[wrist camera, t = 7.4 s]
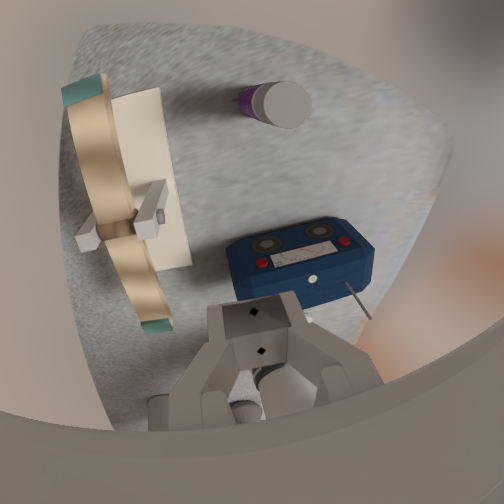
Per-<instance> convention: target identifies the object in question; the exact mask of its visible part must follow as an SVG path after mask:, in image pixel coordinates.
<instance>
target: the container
mask: <svg viewBox="0 0 504 504" xmlns="http://www.w3.org/2000/svg"><path fill="white" fill-rule="evenodd" d="M238 105H239V108H240V110H241V111H242V112H243V113H244V114H245V115H247V116H249V117H251V118H254V119H257V120H259V121H262V122H264V123H267V124H271V125H274V126H277V127H280V128H285V129H292V128H296V127H298V126H300V125H302V124H303V123H304V122H305V121H306V120H307V119H308V118H309V116H310V113H311V110H312V101H311V98H310V95H309V93H308V92H307V91H306V89H305V88H304V87H302V86H301V85H299V84H297V83H295V82H290V81H283V82H270V83H265V84H260V85H255V86H250V87H248V88H246V89H244V90H243V91H242V92H241V93H240V95H239V98H238Z"/></svg>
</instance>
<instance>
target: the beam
mask: <svg viewBox="0 0 504 504" xmlns="http://www.w3.org/2000/svg"><path fill="white" fill-rule="evenodd" d="M61 91H62V97H63V103H64V107H67V111H68V116H69V122H70V127H71V132H72V136H73V141H74V145H75V149H76V153H77V157H78V161H79V165H80V169H81V172H82V176H83V179H84V183H85V186H86V189H87V192H88V196H89V199H90V202H91V205H92V208H93V211H94V214H95V217H96V219H97V230H98V234H99V237H100V239H101V240H102V241H105V244H106V246H107V249H108V251H109V254H110V256H111V258H112V261H113V263H114V266H115V268H116V270H117V272H118V275H119V277H120V279H121V281H122V284H123V286H124V288H125V290H126V292H127V294H128V296H129V298H130V301H131V303H132V305H133V307H134V309H135V311H136V313H137V315H138V317H139V318H140V320H141V326H142V328H143V330H144V332H145V334H150V333H158V332H166V331H173V316H172V314H171V311H170V309H169V306H168V304H167V301H166V298H165V296H164V293H163V291H162V288H161V285H160V283H159V280H158V277H157V274H156V272H155V269H154V266H153V263H152V260H151V257H150V254H149V251H148V248H147V245H146V242H145V240H141V241H139V240H138V237H137V234H136V230H135V227H134V224H133V223H134V221H135V218H136V216H137V214H138V209H136V208H135V206H134V202H133V199H132V195H131V191H130V188H129V184H128V180H127V176H126V172H125V168H124V163H123V159H122V155H121V150H120V146H119V141H118V136H117V131H116V126H115V120H114V115H113V109H112V103H111V97H110V90H109V83H108V75H107V74H101V73H98V74H95V75H92V76H90V77H87V78H84V79H82V80H79V81H77V82H74V83H72V84H70V85H67V86H65V87H63V88H61Z"/></svg>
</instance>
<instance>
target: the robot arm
mask: <svg viewBox="0 0 504 504" xmlns="http://www.w3.org/2000/svg"><path fill="white" fill-rule="evenodd" d="M207 323H208V337H209V342H207V343H204V344H203V346H202V347H201V349H200V350H199V352H198V353H197V355H196V356H195V358H194V359H193V360H192V362H191V363H190V365H189V366H188V368H187V369H186V371H185V372H184V374H183V375H182V376H181V378H180V379H179V381H178V382H177V384H176V385H175V387H174V388H173V389H172V391H171V392H170V394H169V431H154V432H139V431H112V430H98V429H88V428H79V427H72V426H65V425H59V424H53V423H48V422H42V421H38V420H33V419H29V418H25V417H21V416H17V415H13V414H9V413H6V412H3V411H0V504H504V318H502V319H501V320H499V321H498V322H497V323H495V324H494V325H492V326H491V327H489V328H488V329H487V330H485V331H484V332H482V333H481V334H479V335H478V336H476V337H474V338H473V339H471V340H470V341H468V342H467V343H465V344H463V345H461V346H460V347H458V348H456V349H455V350H453V351H451V352H450V353H448V354H446V355H444V356H442V357H440V358H439V359H437V360H435V361H433V362H431V363H429V364H427V365H425V366H423V367H421V368H419V369H417V370H415V371H413V372H411V373H409V374H406V375H404V376H402V377H400V378H397V379H395V380H393V381H391V382H388V383H386V384H384V382H383V380H382V379H381V377H380V375H379V373H378V371H377V369H376V367H375V366H374V364H373V362H372V360H371V359H370V357H369V355H368V354H367V353H366V352H364V351H362V350H360V349H359V348H356V347H355V346H353V345H351V344H350V343H348V342H346V341H344V340H343V339H341V338H339V337H337V336H336V335H334V334H332V333H331V332H329V331H327V330H325V329H324V328H322V327H320V326H318V325H317V324H315V323H313V319H312V316H311V315H309V314H305V313H304V312H303V310H302V308H301V305H300V303H299V301H298V299H297V297H296V294H295V292H294V291H288V292H284V293H279V294H275V295H270V296H265V297H260V298H255V299H250V300H243V301H237V302H230V303H223V304H218V305H211V306H207ZM248 369H249V371H250V372H251V373H252V374H253V380H254V384H255V386H256V388H257V390H258V391H259V392H260V396H261V400H262V404H263V408H264V412H265V416H266V420H261V421H256V422H250V423H244V424H238V425H237V423H236V421H235V418H234V416H233V413H232V411H231V408H230V406H229V403H228V401H227V399H228V397H229V394H230V392H231V390H232V388H233V386H234V384H235V381H236V379H237V377H238V375H239V371H243V370H248Z"/></svg>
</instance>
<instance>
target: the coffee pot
mask: <svg viewBox="0 0 504 504" xmlns="http://www.w3.org/2000/svg"><path fill="white" fill-rule="evenodd" d="M230 408H231V411H232V413H233V416H234V418H235V421H236V423H237V425H238V424H244V423H250V422H256V421H260V420H261V415H262V408H261V406H260V405H258V404H256V403H254V402H253V401H240V402H237V403H234V404H233V405H232V406H231V407H230Z"/></svg>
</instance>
